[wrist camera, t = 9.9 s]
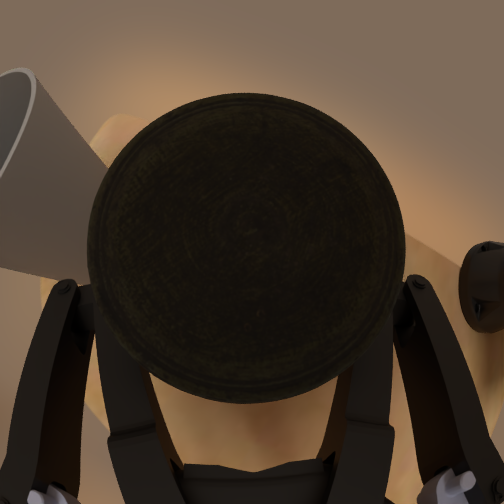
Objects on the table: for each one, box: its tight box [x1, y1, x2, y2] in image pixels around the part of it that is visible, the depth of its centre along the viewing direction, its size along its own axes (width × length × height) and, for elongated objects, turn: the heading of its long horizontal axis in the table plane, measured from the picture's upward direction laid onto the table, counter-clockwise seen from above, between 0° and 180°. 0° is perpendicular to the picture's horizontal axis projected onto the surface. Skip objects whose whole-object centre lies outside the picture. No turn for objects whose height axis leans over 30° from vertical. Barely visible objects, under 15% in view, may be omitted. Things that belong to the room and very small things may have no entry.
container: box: [87, 93, 406, 404], centre depth 15 cm, size 9×9×18 cm
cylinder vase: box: [0, 68, 108, 285], centre depth 21 cm, size 12×12×25 cm
